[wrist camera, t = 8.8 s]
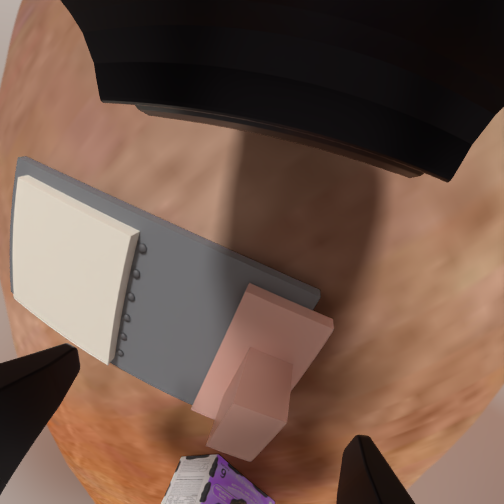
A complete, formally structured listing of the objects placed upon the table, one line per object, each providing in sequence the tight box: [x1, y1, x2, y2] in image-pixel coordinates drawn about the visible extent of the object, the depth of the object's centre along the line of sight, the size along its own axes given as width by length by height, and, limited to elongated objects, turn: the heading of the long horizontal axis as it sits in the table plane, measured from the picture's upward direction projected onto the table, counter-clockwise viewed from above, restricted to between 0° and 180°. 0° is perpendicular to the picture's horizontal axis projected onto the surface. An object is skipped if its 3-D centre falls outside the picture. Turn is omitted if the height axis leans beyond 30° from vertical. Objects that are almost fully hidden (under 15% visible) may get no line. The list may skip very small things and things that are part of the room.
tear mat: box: [10, 156, 321, 405], centre depth 21 cm, size 26×14×1 cm, turn 67°
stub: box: [191, 283, 334, 462], centre depth 17 cm, size 6×12×6 cm, turn 157°
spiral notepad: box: [12, 175, 147, 365], centre depth 20 cm, size 13×12×1 cm
